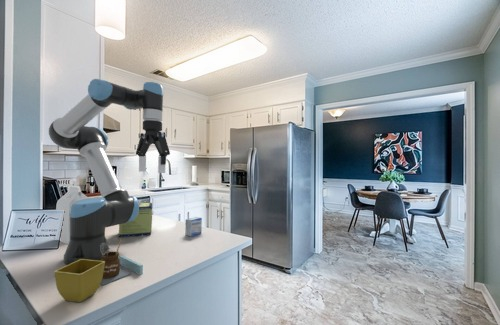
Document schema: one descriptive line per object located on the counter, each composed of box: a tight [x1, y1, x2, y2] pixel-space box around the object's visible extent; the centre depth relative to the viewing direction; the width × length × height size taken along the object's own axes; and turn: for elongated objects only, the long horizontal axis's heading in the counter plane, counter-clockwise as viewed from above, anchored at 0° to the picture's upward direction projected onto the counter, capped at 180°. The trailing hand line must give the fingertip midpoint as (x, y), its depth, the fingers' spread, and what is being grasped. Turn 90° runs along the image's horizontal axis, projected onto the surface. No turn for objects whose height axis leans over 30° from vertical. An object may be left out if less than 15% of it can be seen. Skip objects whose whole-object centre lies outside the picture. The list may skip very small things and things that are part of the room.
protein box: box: [118, 202, 153, 238], centre depth 127 cm, size 10×16×16 cm
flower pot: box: [53, 259, 105, 303], centre depth 68 cm, size 9×9×9 cm
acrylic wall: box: [119, 255, 144, 275], centre depth 86 cm, size 14×1×3 cm, turn 56°
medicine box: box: [184, 216, 203, 237], centre depth 128 cm, size 8×4×9 cm, turn 146°
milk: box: [55, 185, 89, 245], centre depth 117 cm, size 12×12×26 cm
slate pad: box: [99, 267, 131, 287], centre depth 80 cm, size 9×9×1 cm
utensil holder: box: [100, 237, 123, 278], centre depth 80 cm, size 6×6×12 cm
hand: (151, 172), depth 98 cm, fingers open, 13 cm apart
